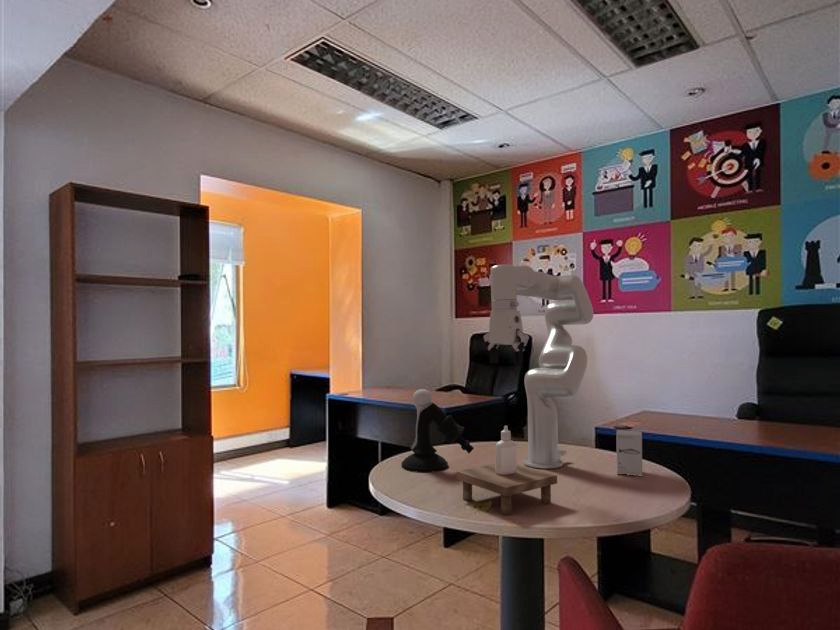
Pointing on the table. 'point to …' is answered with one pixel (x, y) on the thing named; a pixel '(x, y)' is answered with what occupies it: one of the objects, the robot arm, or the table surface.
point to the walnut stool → (507, 483)
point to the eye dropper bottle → (505, 454)
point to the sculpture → (424, 450)
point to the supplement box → (629, 452)
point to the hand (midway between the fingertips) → (506, 364)
